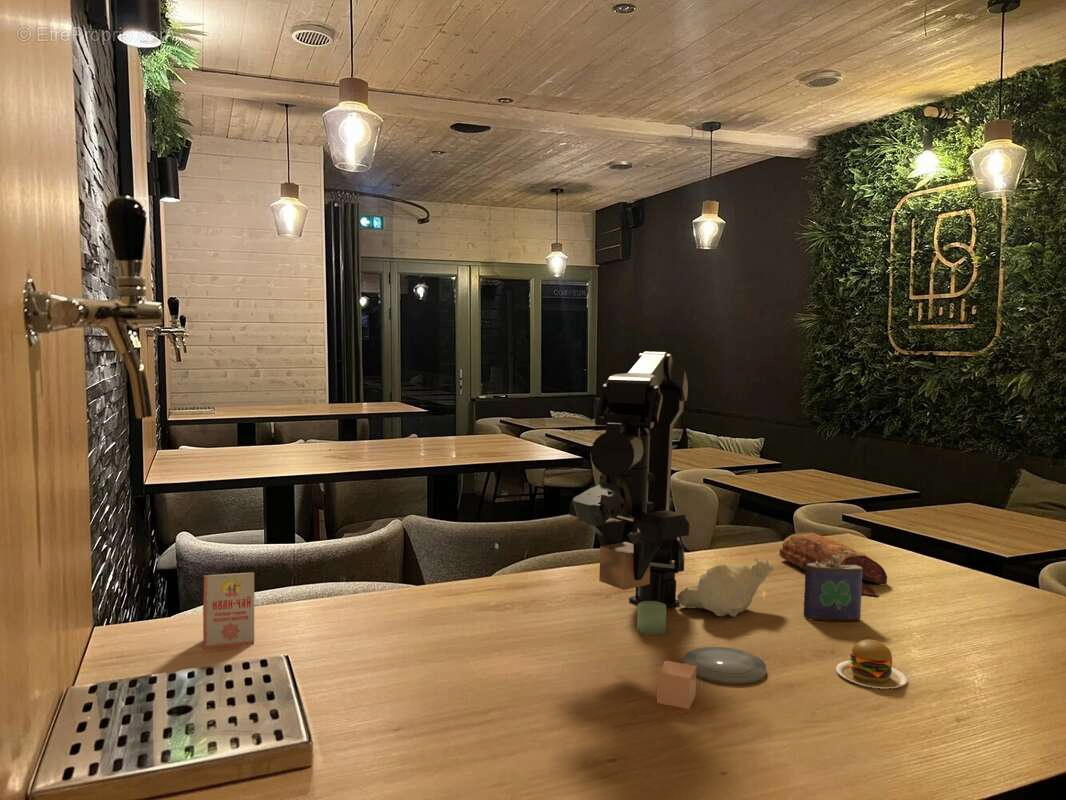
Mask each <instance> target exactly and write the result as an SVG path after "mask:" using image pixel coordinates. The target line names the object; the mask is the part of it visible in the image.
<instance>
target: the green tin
mask: <svg viewBox="0 0 1066 800" xmlns="http://www.w3.org/2000/svg"><path fill="white" fill-rule="evenodd" d="M666 623H667V607H666V605H665V604H663V603H661V602H656V601H642V602H640V603H638V604H637V619H636V626H637V627H636V630H637V632H638V633H640V634H643V635H647V636H662V635H664V634H665V633H666V632H667V631H666V629H667V627H666Z"/></svg>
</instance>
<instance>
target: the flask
mask: <svg viewBox="0 0 1066 800" xmlns="http://www.w3.org/2000/svg"><path fill="white" fill-rule="evenodd" d="M832 557H833V558H832V560H831V561H829V562H828V563H826V562H822V563H824V564H822V563H818V561H816V562H815V563H809V564H807V565H806V566H805V570H804V571H805V574H804V594H803V595H804V596H803V598H804V599H803V600H804V601H803V617H805V618H807V619H806V620H809V619H811V620H810V621H814V620H822V621H821V622H827V621H831V622H832V621H834V622H838V621H848V622H849V621H855V622H860V621H859V620H861V618H862V617H861V615H862V614H861V612H862V609H861V608H862V583H863V579H862V572H863V569H862V567H860V566H857V565H840V564H841V563H840V562H839V556H836V555H833V556H832ZM840 560H841V558H840ZM805 618H804V619H805Z"/></svg>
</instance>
